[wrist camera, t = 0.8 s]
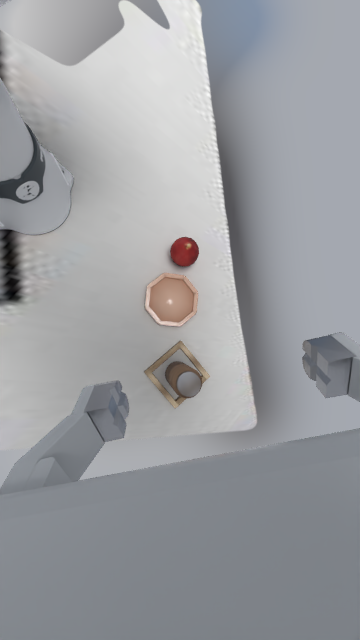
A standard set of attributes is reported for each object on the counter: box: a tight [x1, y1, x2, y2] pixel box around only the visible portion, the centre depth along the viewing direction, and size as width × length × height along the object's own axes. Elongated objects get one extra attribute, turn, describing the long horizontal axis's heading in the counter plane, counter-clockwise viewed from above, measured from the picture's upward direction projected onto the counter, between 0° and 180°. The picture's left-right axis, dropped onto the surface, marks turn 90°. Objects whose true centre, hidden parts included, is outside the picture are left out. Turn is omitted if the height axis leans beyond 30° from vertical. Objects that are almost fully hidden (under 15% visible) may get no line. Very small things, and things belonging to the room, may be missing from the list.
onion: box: [170, 237, 199, 266], centre depth 49 cm, size 6×6×8 cm
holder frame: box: [144, 341, 210, 408], centre depth 50 cm, size 10×10×1 cm
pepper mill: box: [165, 361, 202, 398], centre depth 45 cm, size 5×5×12 cm
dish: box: [145, 273, 198, 327], centre depth 51 cm, size 11×11×2 cm
